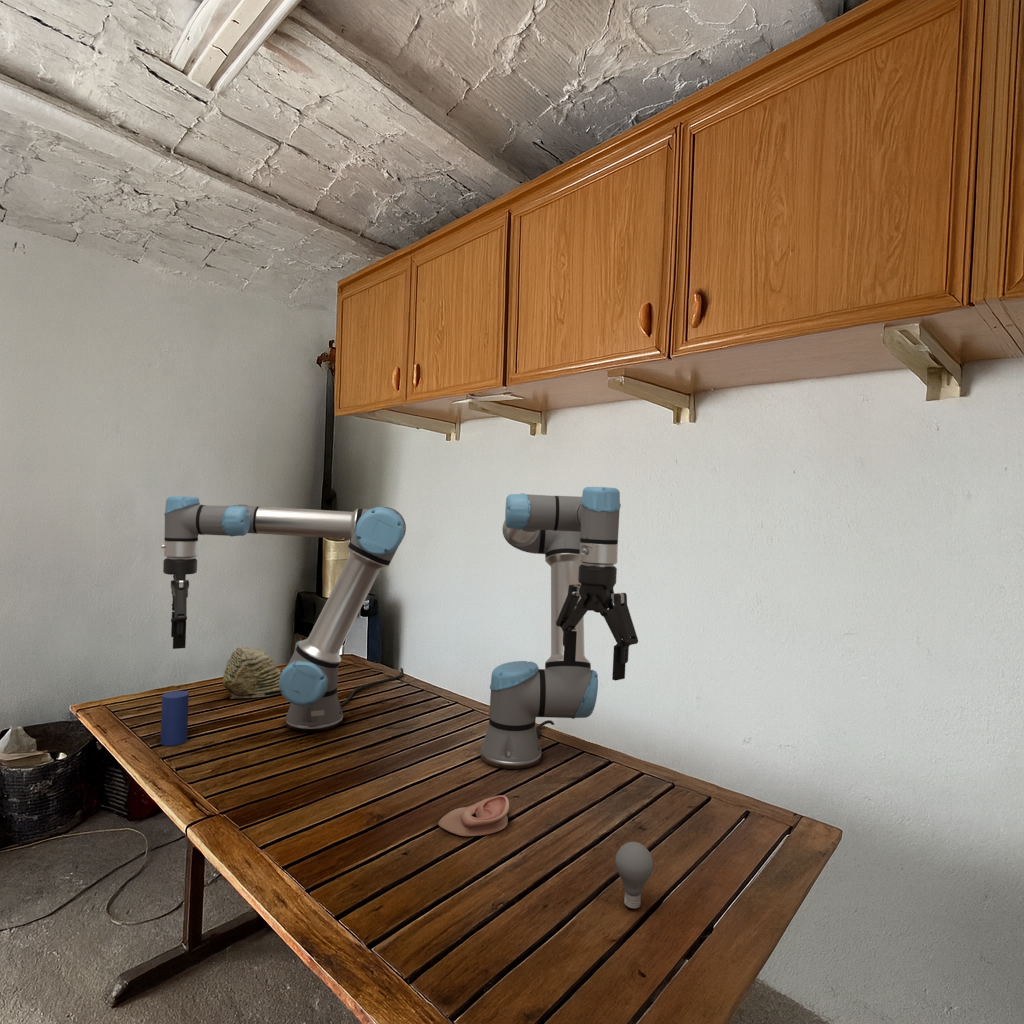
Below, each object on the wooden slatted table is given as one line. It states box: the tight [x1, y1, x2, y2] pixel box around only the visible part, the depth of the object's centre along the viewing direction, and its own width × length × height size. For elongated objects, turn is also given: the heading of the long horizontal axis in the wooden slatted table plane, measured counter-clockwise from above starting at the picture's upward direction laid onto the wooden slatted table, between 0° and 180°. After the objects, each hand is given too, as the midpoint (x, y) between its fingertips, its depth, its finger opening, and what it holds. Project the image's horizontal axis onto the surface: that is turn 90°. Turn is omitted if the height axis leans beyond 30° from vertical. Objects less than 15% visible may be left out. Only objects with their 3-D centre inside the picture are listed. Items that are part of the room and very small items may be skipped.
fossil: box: [222, 646, 282, 699], centre depth 198 cm, size 9×18×15 cm, turn 132°
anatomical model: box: [437, 794, 510, 837], centre depth 126 cm, size 13×4×12 cm
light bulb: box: [614, 841, 654, 909], centre depth 101 cm, size 6×6×10 cm
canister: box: [159, 690, 190, 747], centre depth 159 cm, size 6×6×12 cm
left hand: (178, 642), depth 159 cm, fingers open, 13 cm apart
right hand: (592, 670), depth 126 cm, fingers open, 13 cm apart
